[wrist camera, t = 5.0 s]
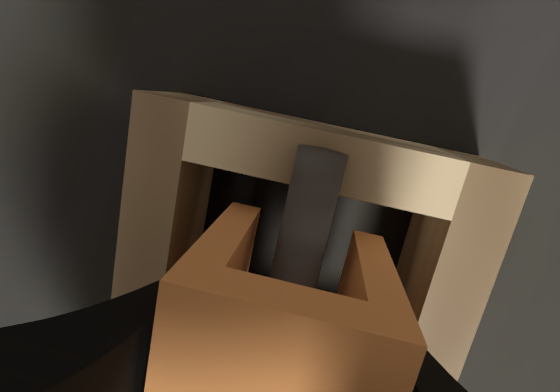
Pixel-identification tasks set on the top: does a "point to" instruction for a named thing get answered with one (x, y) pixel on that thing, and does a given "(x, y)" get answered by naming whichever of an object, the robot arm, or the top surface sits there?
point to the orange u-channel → (280, 322)
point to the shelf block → (319, 203)
